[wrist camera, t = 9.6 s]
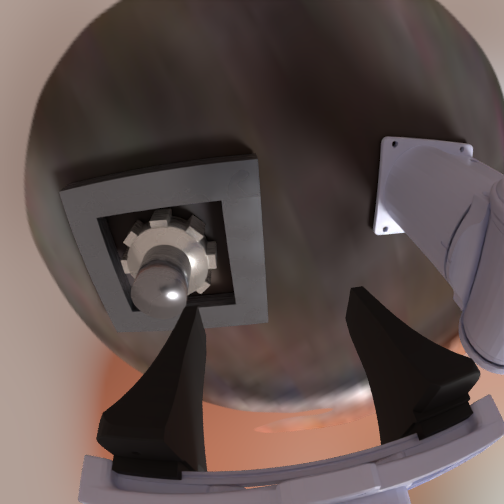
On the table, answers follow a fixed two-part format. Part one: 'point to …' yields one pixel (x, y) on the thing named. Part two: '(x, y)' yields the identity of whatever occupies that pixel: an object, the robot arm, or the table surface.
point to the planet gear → (168, 262)
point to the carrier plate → (166, 195)
